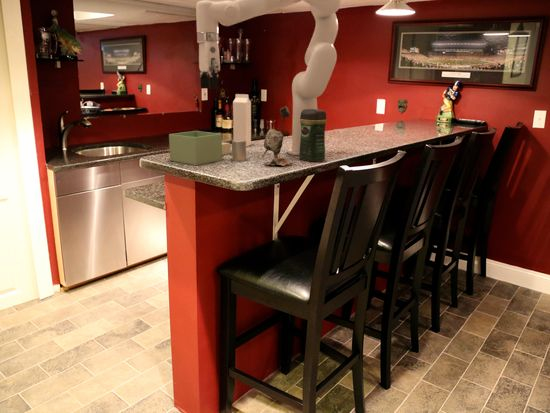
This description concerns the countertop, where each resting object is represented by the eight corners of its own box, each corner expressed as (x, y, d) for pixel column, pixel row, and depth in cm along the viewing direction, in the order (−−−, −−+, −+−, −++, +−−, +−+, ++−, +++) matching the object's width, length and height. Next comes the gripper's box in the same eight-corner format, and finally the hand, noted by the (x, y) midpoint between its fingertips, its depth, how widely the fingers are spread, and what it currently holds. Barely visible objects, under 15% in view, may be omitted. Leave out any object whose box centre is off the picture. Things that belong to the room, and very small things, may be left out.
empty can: (249, 159, 165) (249, 140, 163) (240, 161, 161) (239, 142, 159) (238, 157, 168) (238, 139, 166) (229, 159, 164) (228, 140, 162)
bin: (222, 159, 164) (221, 133, 161) (196, 165, 153) (195, 137, 151) (196, 155, 171) (195, 130, 168) (170, 160, 161) (168, 134, 158)
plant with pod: (272, 160, 163) (272, 105, 157) (295, 165, 156) (297, 106, 150) (256, 163, 157) (256, 105, 152) (279, 168, 150) (280, 107, 144)
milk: (238, 144, 201) (238, 93, 195) (251, 145, 199) (251, 94, 193) (233, 146, 195) (232, 94, 189) (246, 146, 194) (245, 94, 187)
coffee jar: (328, 160, 164) (330, 109, 159) (311, 163, 160) (313, 110, 155) (311, 156, 172) (313, 107, 167) (295, 158, 168) (296, 108, 162)
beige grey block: (230, 153, 177) (230, 143, 176) (222, 154, 174) (222, 144, 173) (221, 151, 180) (220, 141, 179) (213, 153, 177) (213, 143, 176)
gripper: (226, 37, 153) (227, 89, 158) (209, 40, 168) (210, 87, 173) (205, 36, 150) (207, 89, 155) (190, 39, 165) (192, 87, 169)
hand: (209, 88), depth 164 cm, fingers open, 9 cm apart
